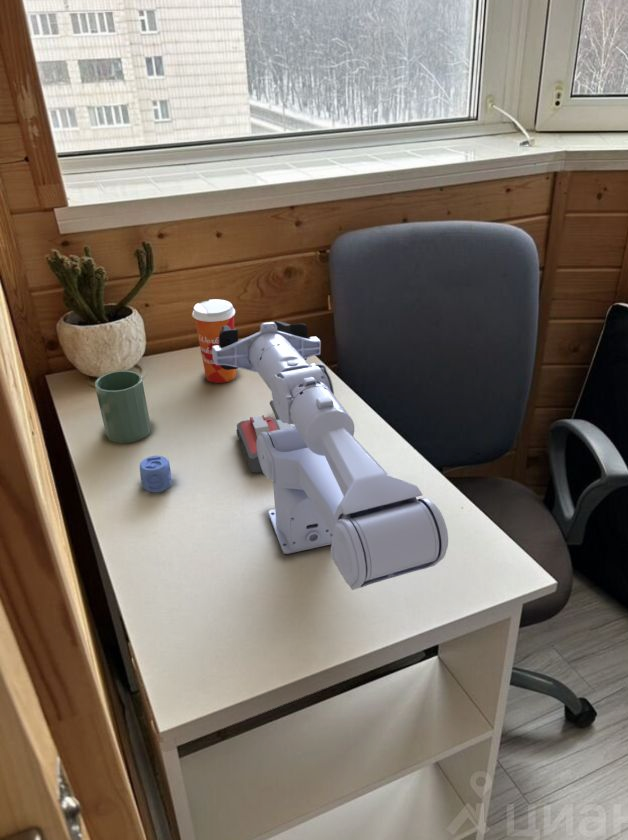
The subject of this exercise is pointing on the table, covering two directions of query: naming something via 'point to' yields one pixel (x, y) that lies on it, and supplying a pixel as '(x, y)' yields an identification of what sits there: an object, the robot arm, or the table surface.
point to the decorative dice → (155, 474)
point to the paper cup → (213, 335)
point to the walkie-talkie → (251, 431)
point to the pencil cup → (123, 406)
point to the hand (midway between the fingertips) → (251, 330)
